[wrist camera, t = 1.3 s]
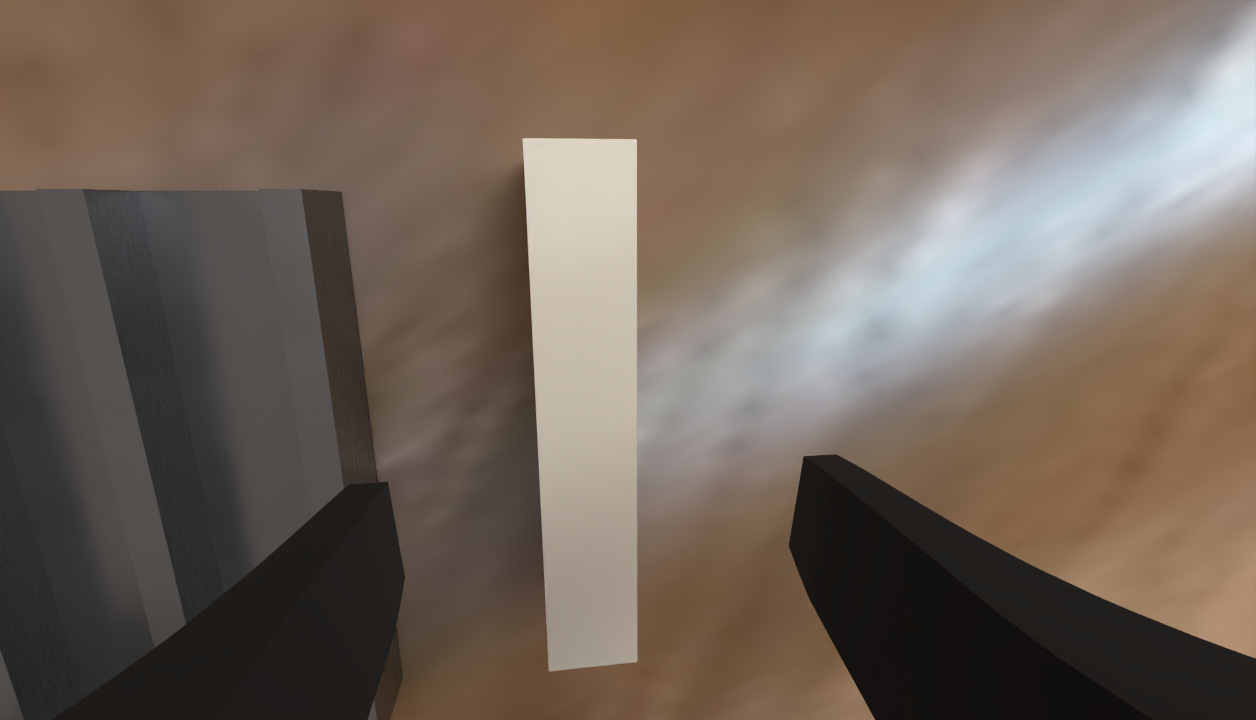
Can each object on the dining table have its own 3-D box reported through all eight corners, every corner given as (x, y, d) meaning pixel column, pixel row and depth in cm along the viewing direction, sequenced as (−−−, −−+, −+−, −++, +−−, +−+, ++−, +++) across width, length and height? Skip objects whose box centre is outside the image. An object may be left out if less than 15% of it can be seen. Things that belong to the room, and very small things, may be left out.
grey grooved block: (402, 678, 22) (381, 748, 19) (-75, 727, 20) (-178, 814, 17) (341, 191, 18) (301, 189, 15) (-287, 191, 16) (-476, 188, 13)
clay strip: (613, 543, 22) (637, 661, 16) (548, 549, 22) (548, 671, 16) (609, 159, 19) (636, 139, 13) (530, 159, 18) (522, 137, 13)
